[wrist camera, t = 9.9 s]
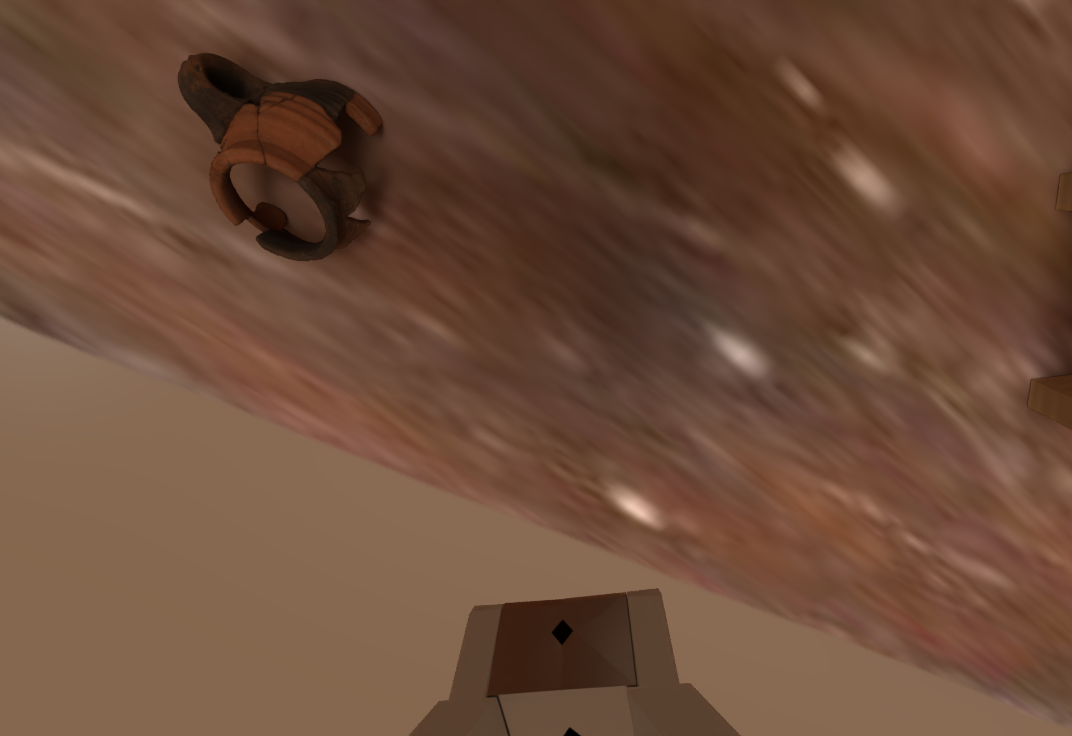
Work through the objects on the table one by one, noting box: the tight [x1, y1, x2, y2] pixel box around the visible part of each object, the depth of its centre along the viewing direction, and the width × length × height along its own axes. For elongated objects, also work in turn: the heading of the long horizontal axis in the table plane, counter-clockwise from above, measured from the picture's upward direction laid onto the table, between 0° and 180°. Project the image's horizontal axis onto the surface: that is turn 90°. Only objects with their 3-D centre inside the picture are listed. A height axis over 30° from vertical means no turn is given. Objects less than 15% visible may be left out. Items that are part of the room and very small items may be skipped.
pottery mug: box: [178, 53, 382, 261], centre depth 31 cm, size 12×9×8 cm
